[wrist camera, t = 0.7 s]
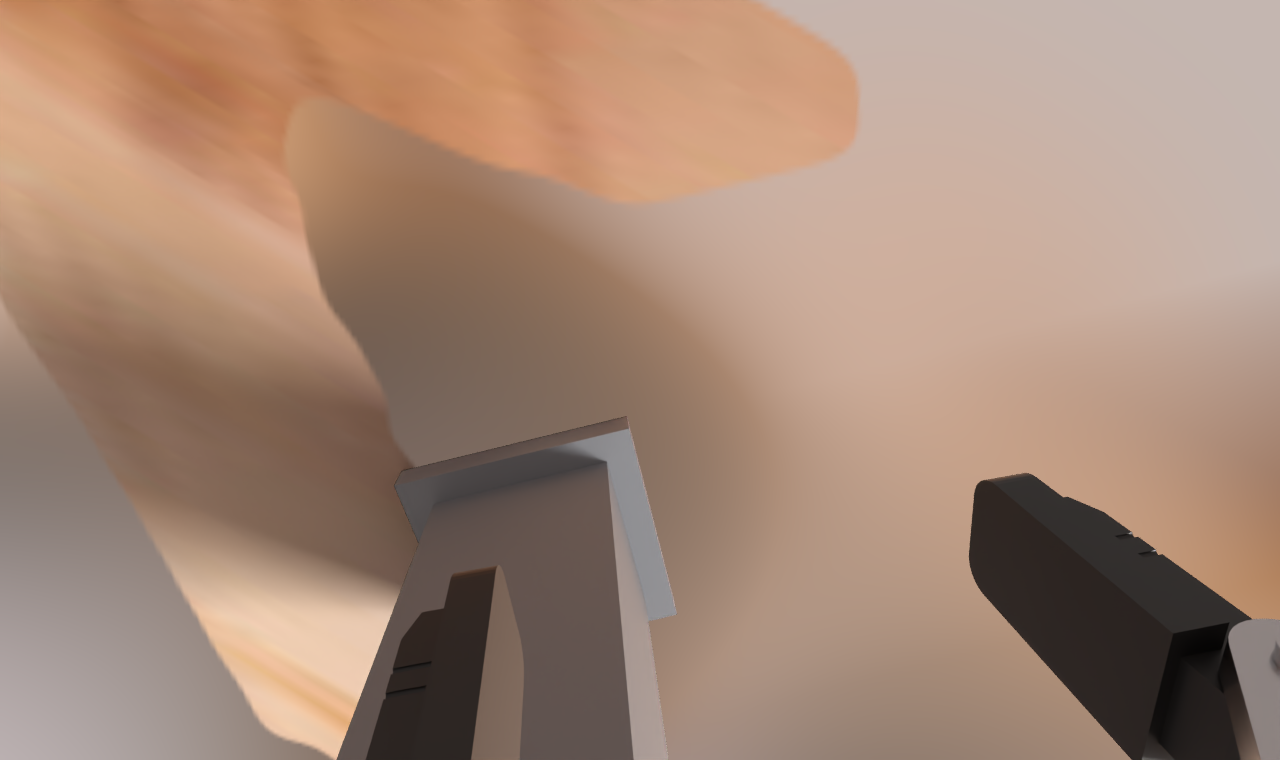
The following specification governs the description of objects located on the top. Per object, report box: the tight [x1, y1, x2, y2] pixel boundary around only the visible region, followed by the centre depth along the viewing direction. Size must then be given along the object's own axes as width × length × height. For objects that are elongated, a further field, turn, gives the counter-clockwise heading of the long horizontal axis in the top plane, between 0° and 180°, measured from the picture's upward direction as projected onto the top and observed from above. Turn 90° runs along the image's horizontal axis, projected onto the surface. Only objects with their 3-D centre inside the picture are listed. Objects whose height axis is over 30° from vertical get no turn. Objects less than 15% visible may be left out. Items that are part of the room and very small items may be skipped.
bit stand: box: [337, 416, 677, 760], centre depth 33 cm, size 16×16×33 cm
